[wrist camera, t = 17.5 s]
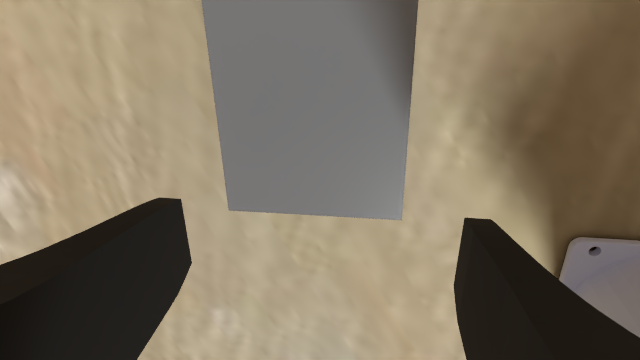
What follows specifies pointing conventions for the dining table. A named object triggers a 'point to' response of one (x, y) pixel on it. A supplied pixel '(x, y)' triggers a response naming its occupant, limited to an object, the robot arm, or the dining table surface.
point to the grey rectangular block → (313, 103)
